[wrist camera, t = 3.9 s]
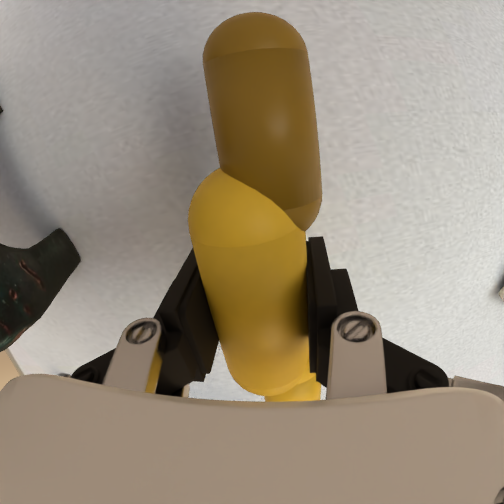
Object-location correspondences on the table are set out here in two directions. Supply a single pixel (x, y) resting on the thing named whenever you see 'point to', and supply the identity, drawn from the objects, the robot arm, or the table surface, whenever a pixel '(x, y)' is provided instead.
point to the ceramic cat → (32, 282)
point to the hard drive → (502, 293)
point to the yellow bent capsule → (259, 203)
